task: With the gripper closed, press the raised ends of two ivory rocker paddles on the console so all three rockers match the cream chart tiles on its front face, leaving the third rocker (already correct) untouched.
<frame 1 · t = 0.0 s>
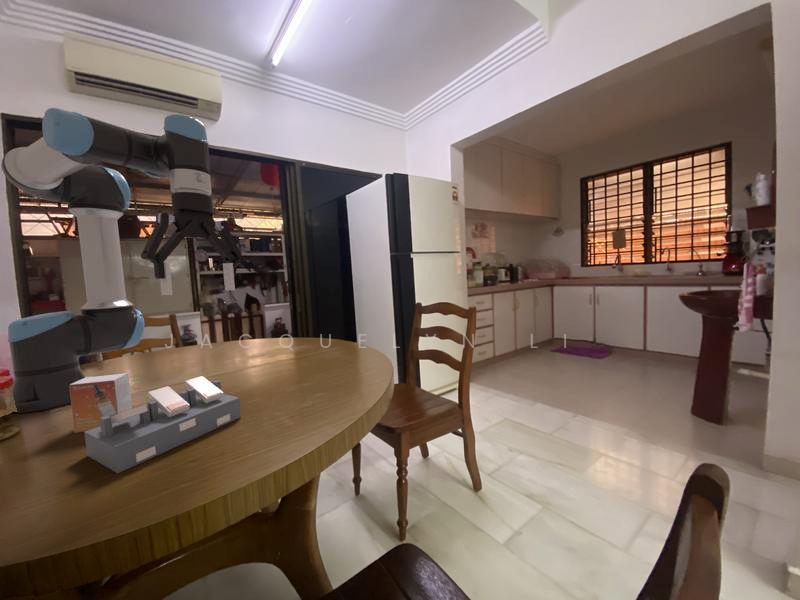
hand: (201, 292, 71), 28 cm above the table, fingers open, 13 cm apart
console: (172, 434, 64), on the table
small box: (105, 425, 70), on the table
rocker b: (168, 400, 64), point 7 cm above the table, hinge at 20.0°
rocker c: (204, 388, 70), point 7 cm above the table, hinge at 20.0°
rocker a: (125, 414, 58), point 7 cm above the table, hinge at -20.0°
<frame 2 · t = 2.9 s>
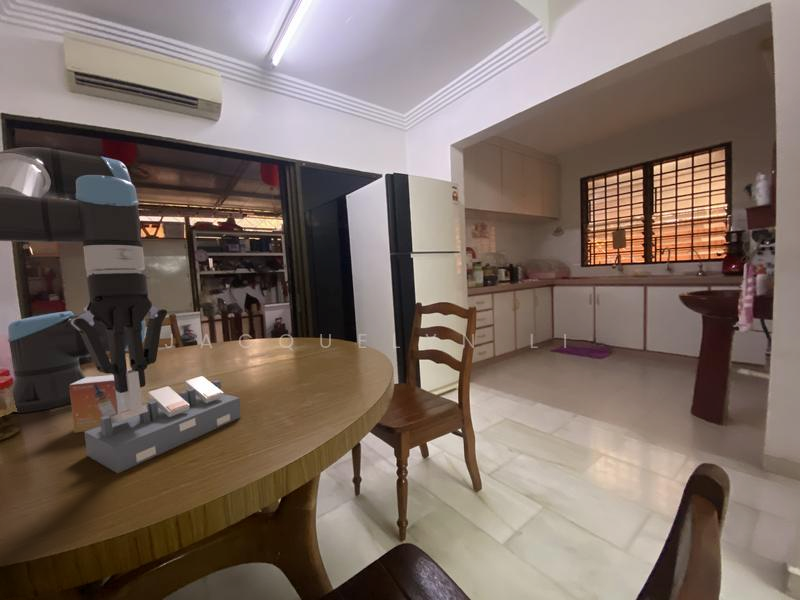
hand: (133, 407, 56), 9 cm above the table, fingers closed
rocker a: (125, 414, 58), point 7 cm above the table, hinge at -18.8°, touching gripper
everything else where it was.
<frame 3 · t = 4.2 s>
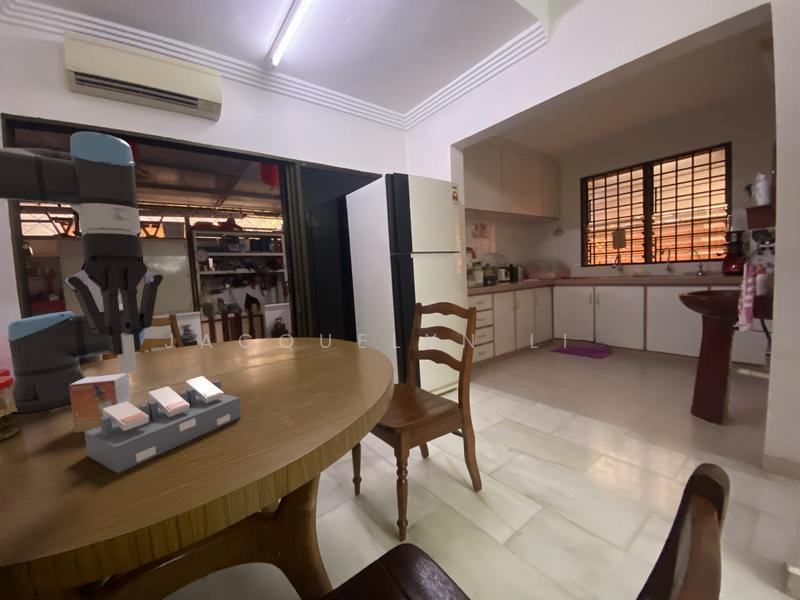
hand: (128, 371, 56), 15 cm above the table, fingers closed
rocker a: (125, 414, 58), point 7 cm above the table, hinge at 10.2°
everything else where it was.
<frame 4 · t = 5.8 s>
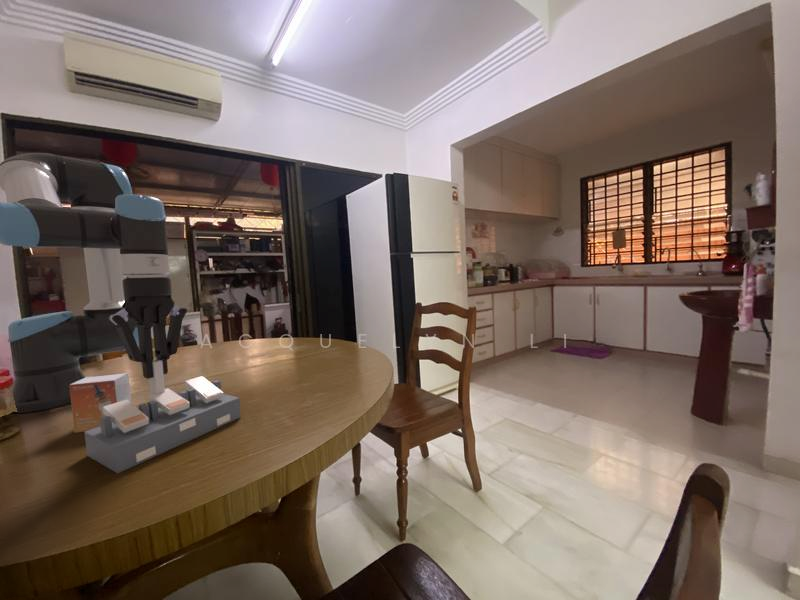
hand: (157, 391, 66), 8 cm above the table, fingers closed
rocker b: (168, 400, 64), point 7 cm above the table, hinge at 12.7°, touching gripper
rocker a: (125, 414, 58), point 7 cm above the table, hinge at 15.9°
everything else where it was.
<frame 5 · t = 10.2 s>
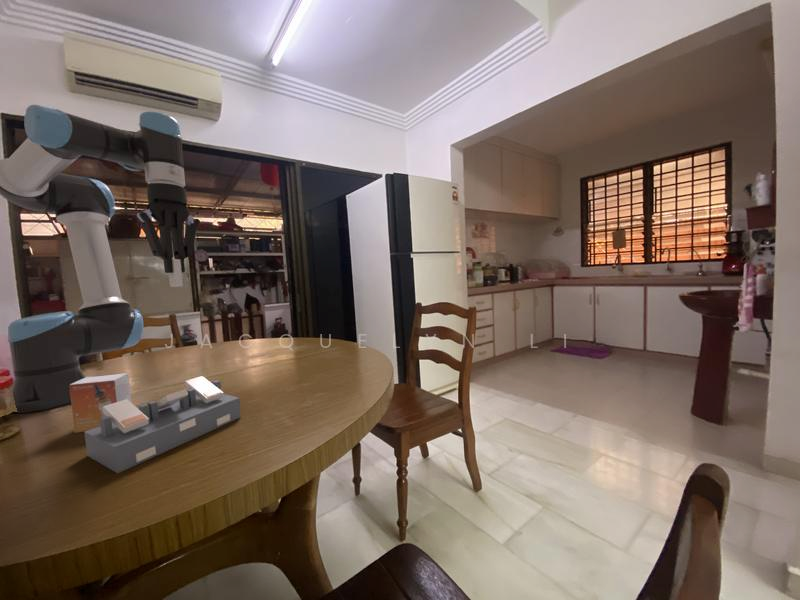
hand: (176, 286, 77), 29 cm above the table, fingers closed
rocker b: (168, 400, 64), point 7 cm above the table, hinge at -26.8°
rocker a: (125, 414, 58), point 7 cm above the table, hinge at 17.0°
everything else where it was.
at the end: rocker a at +17° (first picture: -20°); rocker b at -27° (first picture: +20°); rocker c at +20° (first picture: +20°) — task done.
